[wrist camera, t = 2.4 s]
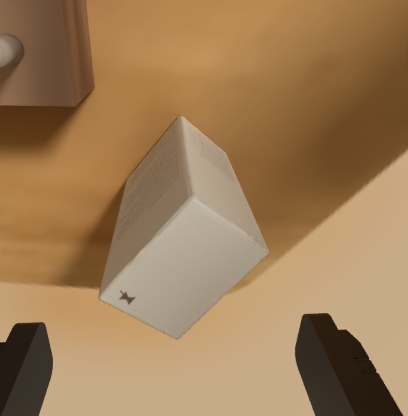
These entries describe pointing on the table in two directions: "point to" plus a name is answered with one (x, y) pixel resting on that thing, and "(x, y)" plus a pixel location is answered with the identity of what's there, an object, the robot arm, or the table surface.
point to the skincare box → (180, 234)
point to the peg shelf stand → (44, 53)
